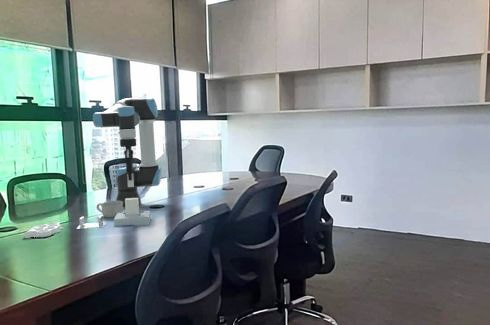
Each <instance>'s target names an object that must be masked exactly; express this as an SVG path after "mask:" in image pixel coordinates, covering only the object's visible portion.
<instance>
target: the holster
mask: <svg viewBox="0 0 490 325" xmlns="http://www.w3.org/2000/svg"><path fill="white" fill-rule="evenodd" d="M97 217H98V218H97V219H98V222H88V223H86V222H85V220H86V219H85V216H81V217H79V225H78V226H77V227H76V230H78V229H79V230H80V229H92V228H103V227H104V226H105V225H106V224H107V221H104V216H103V214H100V215H99V216H97Z"/></svg>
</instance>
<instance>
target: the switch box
mask: <svg viewBox="0 0 490 325" xmlns="http://www.w3.org/2000/svg"><path fill="white" fill-rule="evenodd" d="M150 222H151V210H142V211H140V210H139V216H126V211H125V212H123V213H117V215H116V216H115V217H113V226H114V227H117V226H118V227H120V226H130V225H133V227H137V226H138V227H139V226H149V225H150Z"/></svg>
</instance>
